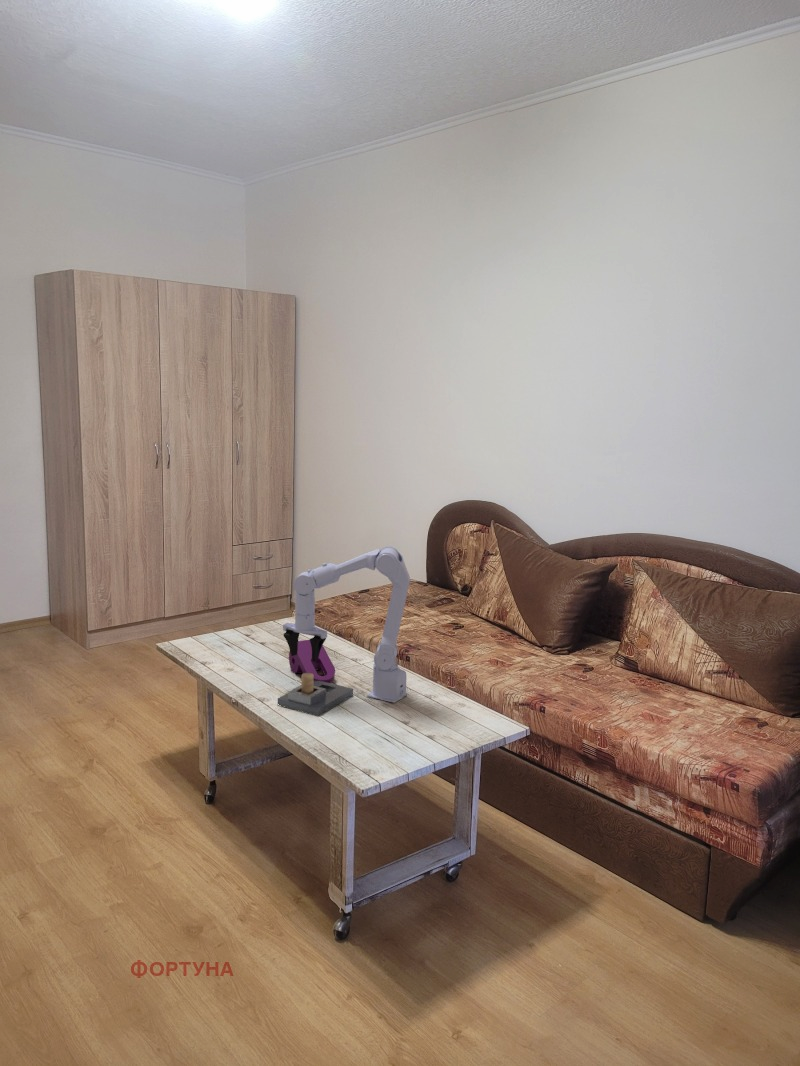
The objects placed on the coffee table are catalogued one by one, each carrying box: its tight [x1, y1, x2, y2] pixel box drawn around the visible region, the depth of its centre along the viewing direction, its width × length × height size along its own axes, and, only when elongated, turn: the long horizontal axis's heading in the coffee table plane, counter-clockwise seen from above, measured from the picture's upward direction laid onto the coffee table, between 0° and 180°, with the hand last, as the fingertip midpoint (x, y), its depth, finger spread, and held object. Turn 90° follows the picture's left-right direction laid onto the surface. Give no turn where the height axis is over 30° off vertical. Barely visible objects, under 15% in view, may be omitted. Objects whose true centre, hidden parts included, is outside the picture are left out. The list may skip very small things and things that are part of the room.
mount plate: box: [277, 680, 354, 716], centre depth 232 cm, size 14×18×4 cm
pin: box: [301, 673, 314, 695], centre depth 228 cm, size 3×3×9 cm
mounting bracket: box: [288, 639, 336, 683], centre depth 252 cm, size 9×8×18 cm
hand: (304, 657), depth 237 cm, fingers open, 7 cm apart
